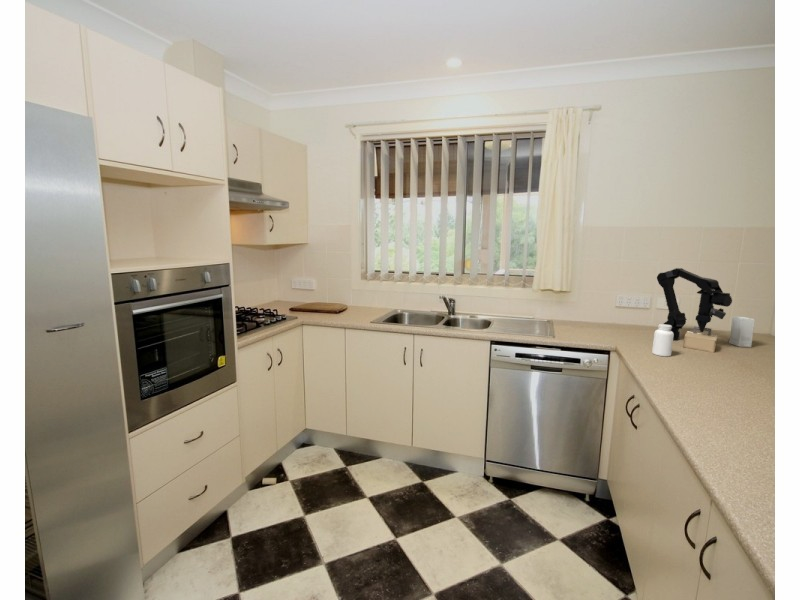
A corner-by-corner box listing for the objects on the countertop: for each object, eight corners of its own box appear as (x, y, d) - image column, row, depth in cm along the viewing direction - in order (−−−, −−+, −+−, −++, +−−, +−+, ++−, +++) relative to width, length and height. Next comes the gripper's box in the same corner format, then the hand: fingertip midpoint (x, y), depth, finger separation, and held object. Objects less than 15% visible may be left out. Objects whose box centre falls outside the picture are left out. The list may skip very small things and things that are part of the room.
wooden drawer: (683, 347, 207) (684, 336, 206) (685, 343, 216) (687, 332, 215) (714, 352, 199) (715, 341, 198) (715, 348, 207) (717, 337, 206)
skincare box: (751, 347, 210) (756, 319, 207) (737, 346, 211) (742, 318, 209) (741, 343, 218) (745, 316, 215) (727, 342, 219) (732, 315, 217)
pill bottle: (668, 353, 196) (672, 324, 193) (673, 357, 188) (677, 327, 186) (649, 351, 198) (653, 322, 196) (654, 355, 191) (658, 326, 189)
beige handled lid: (684, 336, 206) (685, 328, 206) (687, 332, 214) (688, 324, 214) (715, 340, 198) (717, 333, 197) (717, 336, 206) (718, 328, 205)
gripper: (725, 307, 193) (720, 337, 196) (726, 302, 207) (722, 331, 210) (697, 304, 201) (693, 333, 203) (700, 300, 215) (696, 327, 217)
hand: (701, 331), depth 208 cm, fingers closed
